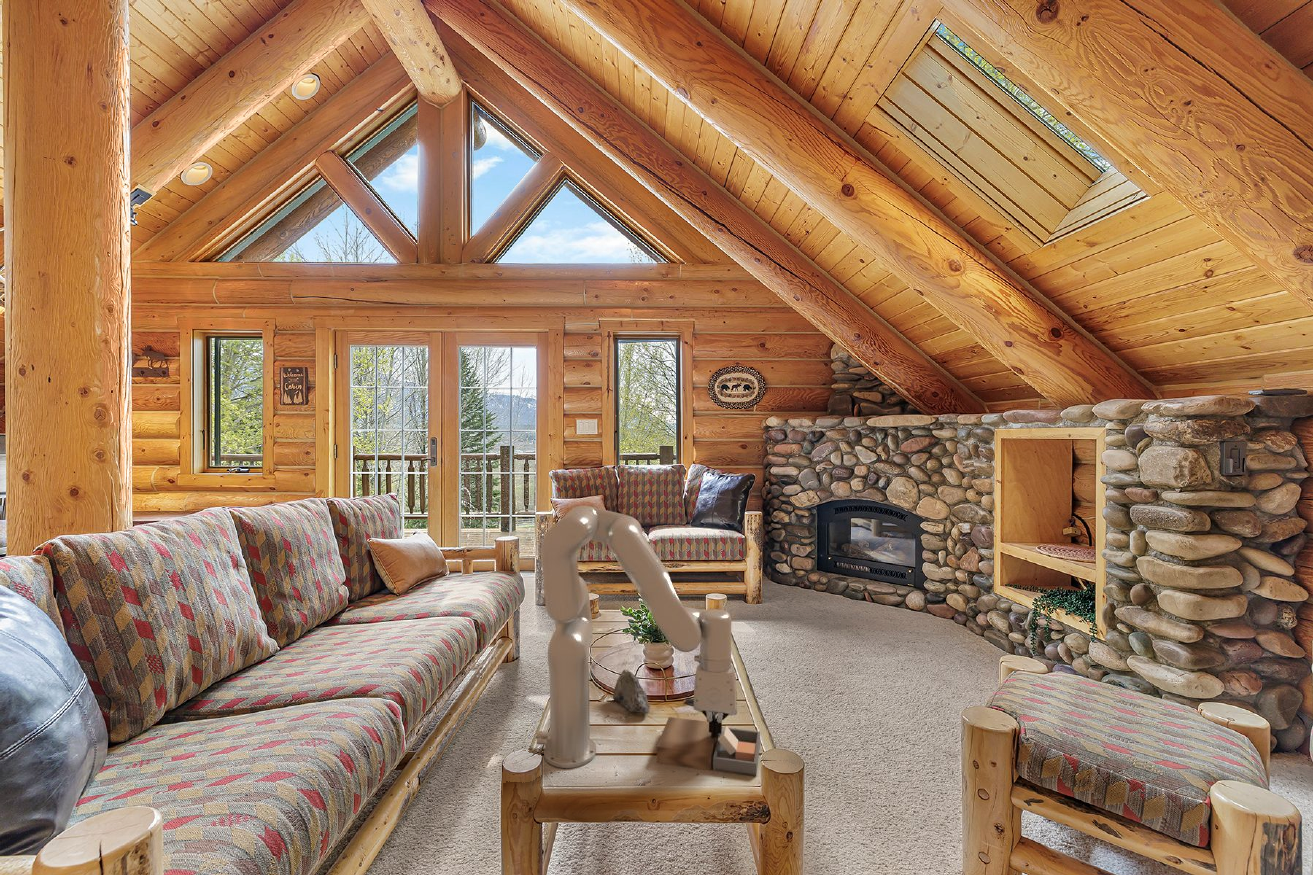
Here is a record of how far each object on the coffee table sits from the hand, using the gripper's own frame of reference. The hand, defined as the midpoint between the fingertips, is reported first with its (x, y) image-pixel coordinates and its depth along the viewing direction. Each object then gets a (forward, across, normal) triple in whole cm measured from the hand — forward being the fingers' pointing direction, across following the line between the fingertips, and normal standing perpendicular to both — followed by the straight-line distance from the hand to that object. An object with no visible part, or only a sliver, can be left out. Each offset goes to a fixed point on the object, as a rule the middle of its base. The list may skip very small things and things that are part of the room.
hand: (715, 735), depth 149 cm
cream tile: (+2, +2, 0) cm, 3 cm away
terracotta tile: (+2, +7, 0) cm, 8 cm away
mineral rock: (+5, -26, +17) cm, 31 cm away
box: (+5, +5, 0) cm, 7 cm away
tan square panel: (+5, -7, 0) cm, 8 cm away
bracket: (+6, -4, +18) cm, 19 cm away
